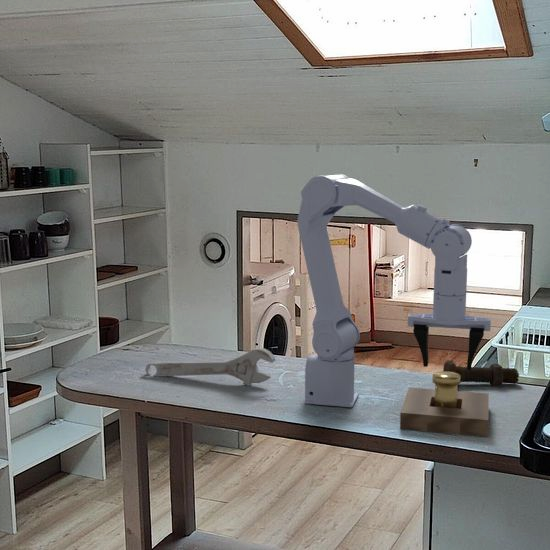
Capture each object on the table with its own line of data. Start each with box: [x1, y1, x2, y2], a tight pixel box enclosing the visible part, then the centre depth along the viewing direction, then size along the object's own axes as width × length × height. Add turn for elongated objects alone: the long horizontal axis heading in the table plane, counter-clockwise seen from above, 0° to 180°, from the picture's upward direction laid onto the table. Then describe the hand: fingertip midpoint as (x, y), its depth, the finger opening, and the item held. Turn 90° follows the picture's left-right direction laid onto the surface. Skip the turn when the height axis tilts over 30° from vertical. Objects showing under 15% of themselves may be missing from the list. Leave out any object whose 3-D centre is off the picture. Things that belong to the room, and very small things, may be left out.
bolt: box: [442, 360, 520, 387], centre depth 165 cm, size 6×5×15 cm
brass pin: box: [432, 370, 461, 409], centre depth 145 cm, size 5×5×8 cm
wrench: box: [145, 347, 276, 387], centre depth 168 cm, size 8×2×30 cm
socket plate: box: [399, 386, 490, 437], centre depth 145 cm, size 15×15×3 cm
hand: (447, 366), depth 144 cm, fingers open, 7 cm apart
